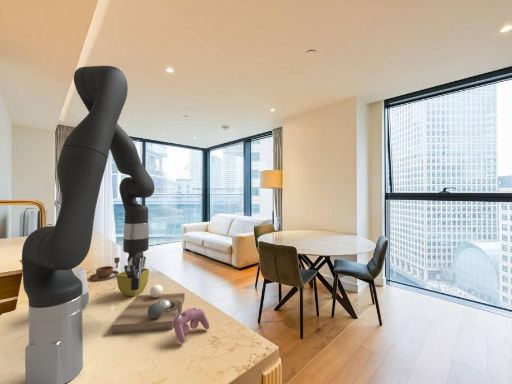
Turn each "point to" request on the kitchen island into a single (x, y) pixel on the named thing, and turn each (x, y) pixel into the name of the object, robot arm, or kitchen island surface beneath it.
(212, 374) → the kitchen island surface
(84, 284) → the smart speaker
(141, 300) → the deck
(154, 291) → the white ball
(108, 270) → the place setting
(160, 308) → the dark grey ball
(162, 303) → the steel ball
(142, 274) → the flower pot
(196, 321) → the video game controller
